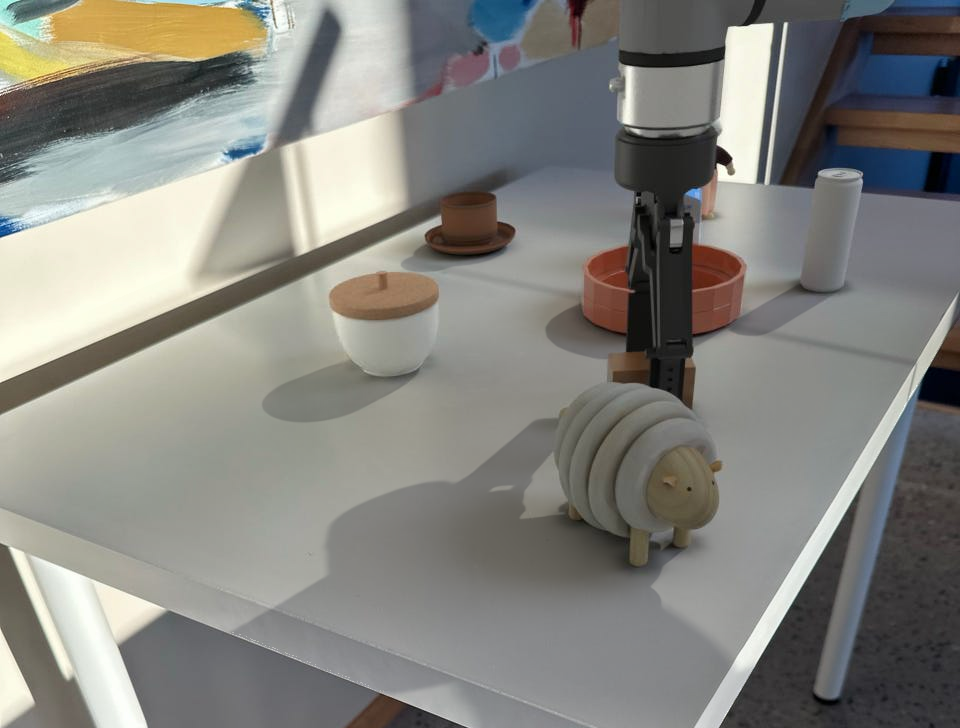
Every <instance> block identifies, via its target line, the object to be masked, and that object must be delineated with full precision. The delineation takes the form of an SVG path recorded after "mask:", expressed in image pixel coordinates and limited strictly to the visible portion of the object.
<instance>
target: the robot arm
mask: <svg viewBox="0 0 960 728" xmlns="http://www.w3.org/2000/svg"><path fill="white" fill-rule="evenodd" d="M894 1H895V0H619V35H618V36H619V39H618V41H619V42H618V43H619V45H618V46H619V47H618V68H617V70H618V71H619V73H620V76H616V77H613V78H611V79H610V80H609V82H608V85H609V86H608V91H610V92H611V93H613V94H617V93H618V94H617V99H616V103H617V104H616V120H617V122H618V123H619V124H620V125H622V126H623V127H622V128H620V129H619V130H618V132H617V133H616V134H615V138H614V141H615V142H614V169H613V170H614V173H613V177H614V181H615V182H616V184H617V185H618V186H619V187H621V188H622V189H624V190H627V191H631V192H633V203H632V211H631V212H632V213H631V221H630V230H629V238H628V244H629V245H628V244H627V245H628V254H627V262H626V267H625V273H626V276H627V277H628V276H629V278H628V281H627V286H628V287H629V290H633V293H628V307H627V331H626V333H625V334H626V336H625V352H643V351H645V352H644V358H645V359H649V376H648V386H649V387H651V388H655V389H660V390H664V391H666V392H669V393H671V394H672V395H674V396H676V397H677V398H678V399H679V400H680V401H681V402H682V397H683V385H684V373H685V361H686V358H692V357H693V355H694V351H695V348H694V347H695V346H694V345H693V344H694V342H693V341H694V340H693V339H694V337H693V335H694V334H693V319H692V245H693V229H694V228H695V222H694V220H693V216H692V217H691V215H690V212H685V205H684V199H683V198H684V195H685V194H686V193H687V192H688V191H690V190H692V189H699V188H701V187H704V186H705V185H707V184H708V183H709V182H710V181H711V180H712V179H713V176H714V169H715V158H716V147H717V145H718V138H717V136H718V133H717V131H715V128H714V127H713V126H711V124H712V123H713V122H715V121H716V120H717V119H718V120H719V119H720V117H721V111H722V110H721V109H722V100H723V99H722V98H723V89H724V88H723V86H724V77H725V64H726V50H727V49H726V47H727V46H726V44H727V43H726V42H727V37H728V36H727V34H728V30H729V28H731V27H732V28H733V27H738V28H742V27H750V26H751V25H763V24H766V25H767V24H782V23H784V24H785V23H798V22H801V23H802V22H814V21H830V20H832V21H833V20H839V22H846V21H847V20H848V19H851V18H857V17H858V18H859V17H864V16H872V15H876V14H880V13H882V12H883V11H885V10H886V9H888V8H889V7H890V6H891V5H892V4H893V3H894ZM718 137H719V136H718Z"/></svg>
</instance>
